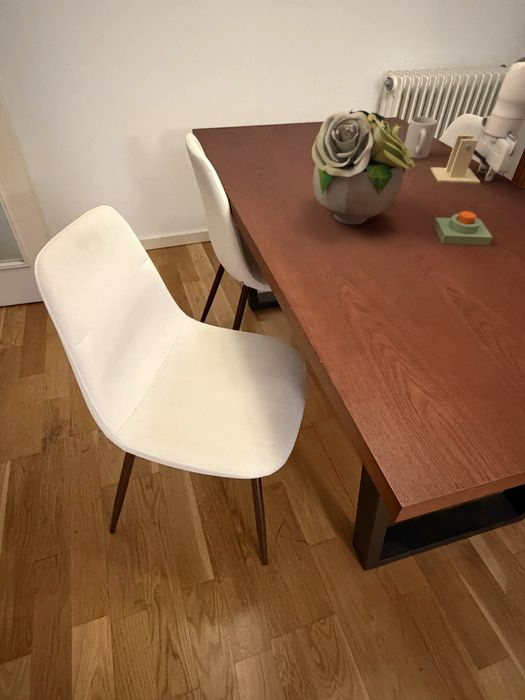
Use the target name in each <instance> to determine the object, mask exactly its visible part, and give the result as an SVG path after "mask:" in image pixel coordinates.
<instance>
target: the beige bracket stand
mask: <svg viewBox="0 0 525 700" xmlns="http://www.w3.org/2000/svg"><path fill="white" fill-rule="evenodd" d="M463 137H466V138H467V139H462V138H463ZM459 142H460V144H459V145H458V143H459ZM477 142H478V140H477V138H475V139H474V134H456V137H455V140H454V143H453V145H452V149H451V152H450V155H449V159H448V161H447V164H446V167H437V166H436V167H434V166H433V167H430V171H431V173H432V174H433V176H434V178H435V179H436V181H437V182H438V183H451V184H478V185H479V184H480V183H481V181H480V179H479V178H478V176H476V174H475V173H474V172H473V171H472V170H471V168H469V167H470V164H471V161H472V158H473V156H474V154H473V153H474V150H475V148H476V145H477Z"/></svg>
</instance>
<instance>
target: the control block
mask: <svg viewBox="0 0 525 700" xmlns="http://www.w3.org/2000/svg"><path fill="white" fill-rule="evenodd" d="M459 214H460V213H455V214H453V215H452V216H451V217H437V216H436V217H435V216H434V217H435V218H434V221H433V223H432V227H433V229H434V231H435V233H436V234H437V237H438V238H439V241H440V243H441V244H443V245H465V246H467V245H469V246H490V244H491V243H492V239H493V236H492V234H491V233H490V231H489V229H487V227H486V226H485V224H484V223H483V221H482V219H480V218H477V217H476V218H475V220H474V223H473V224H463V223H461V222H459V221H458V217H459Z"/></svg>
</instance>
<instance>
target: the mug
mask: <svg viewBox="0 0 525 700" xmlns="http://www.w3.org/2000/svg"><path fill="white" fill-rule="evenodd" d="M437 126H438V120H437V119H435V118H433V117H429V116H413V117H411V118H410V120H409V123H408V128H407V131H406V135H405V140H404V144H405V147H406V148H407V150H409V151H410V152H411V153H412V155H411V157H410V158H414V159H423V158H424V159H425V158H428V156H429V154H430V150H431V147H432V143H433V139H434V136H435V134H436V133H435V132H436V130H437Z"/></svg>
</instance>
